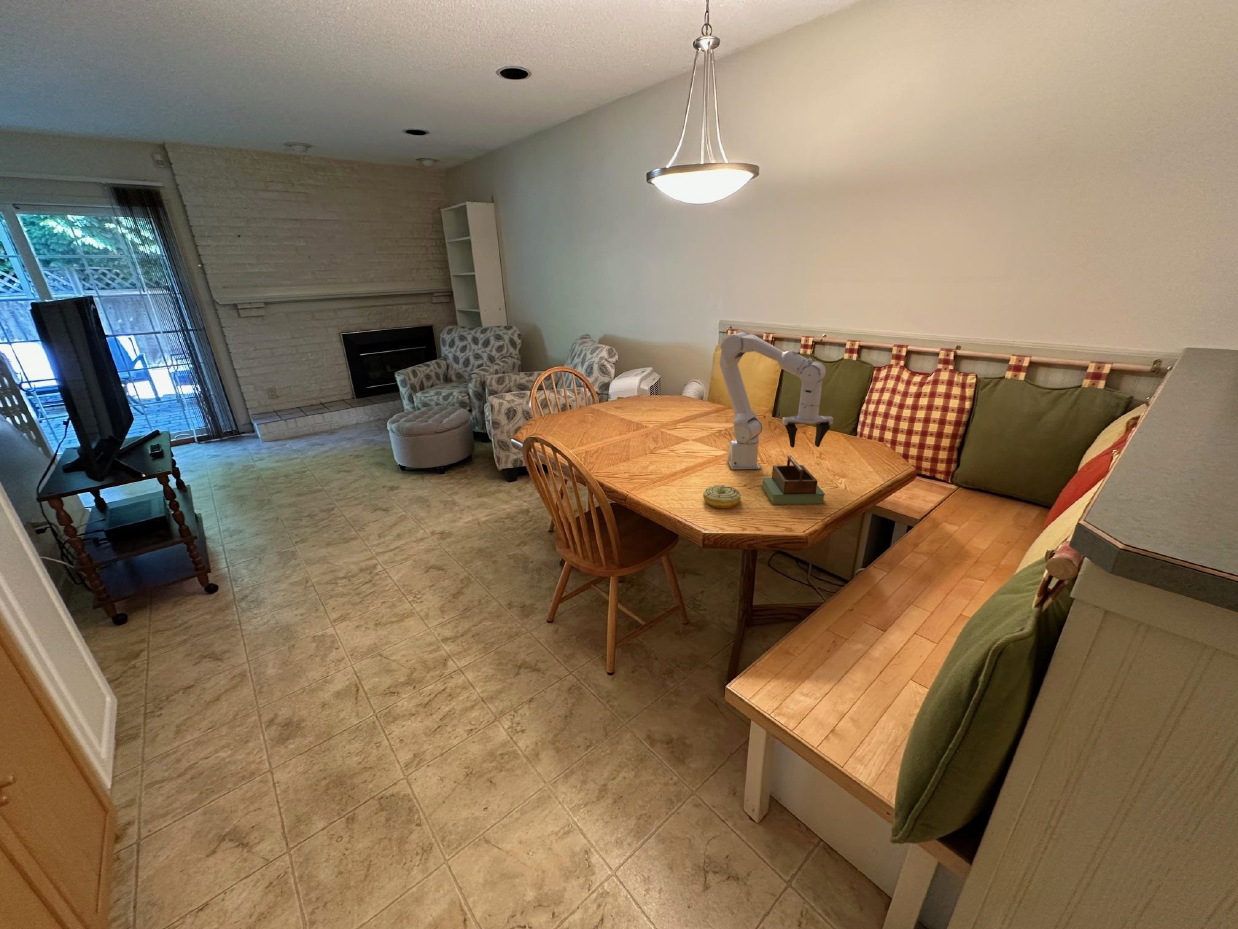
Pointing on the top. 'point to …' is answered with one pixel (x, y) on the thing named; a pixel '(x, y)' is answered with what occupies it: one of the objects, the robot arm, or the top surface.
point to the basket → (794, 478)
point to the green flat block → (781, 498)
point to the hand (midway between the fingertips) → (804, 446)
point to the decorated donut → (721, 496)
